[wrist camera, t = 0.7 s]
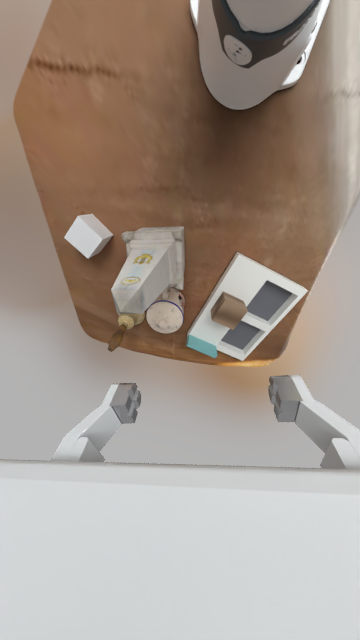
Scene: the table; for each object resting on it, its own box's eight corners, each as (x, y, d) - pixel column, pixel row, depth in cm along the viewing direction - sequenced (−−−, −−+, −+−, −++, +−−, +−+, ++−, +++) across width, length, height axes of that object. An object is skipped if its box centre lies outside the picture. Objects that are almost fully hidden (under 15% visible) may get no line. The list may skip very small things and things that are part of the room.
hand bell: (151, 315, 56) (135, 351, 43) (132, 328, 59) (112, 367, 46) (130, 294, 53) (106, 327, 40) (111, 310, 56) (84, 345, 43)
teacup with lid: (185, 316, 55) (182, 341, 45) (154, 314, 56) (144, 339, 46) (186, 276, 49) (182, 295, 39) (151, 275, 49) (139, 293, 40)
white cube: (79, 233, 46) (63, 237, 40) (92, 213, 43) (77, 215, 38) (100, 252, 48) (87, 258, 42) (113, 234, 45) (102, 239, 40)
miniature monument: (185, 224, 42) (164, 261, 17) (186, 270, 48) (171, 350, 23) (139, 225, 43) (55, 262, 18) (145, 270, 49) (88, 347, 24)
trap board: (236, 251, 44) (242, 259, 39) (302, 286, 47) (316, 298, 42) (187, 331, 58) (186, 346, 52) (241, 354, 61) (245, 370, 55)
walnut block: (222, 291, 47) (225, 300, 43) (243, 301, 48) (248, 311, 44) (210, 310, 50) (211, 320, 46) (230, 319, 51) (233, 329, 47)
